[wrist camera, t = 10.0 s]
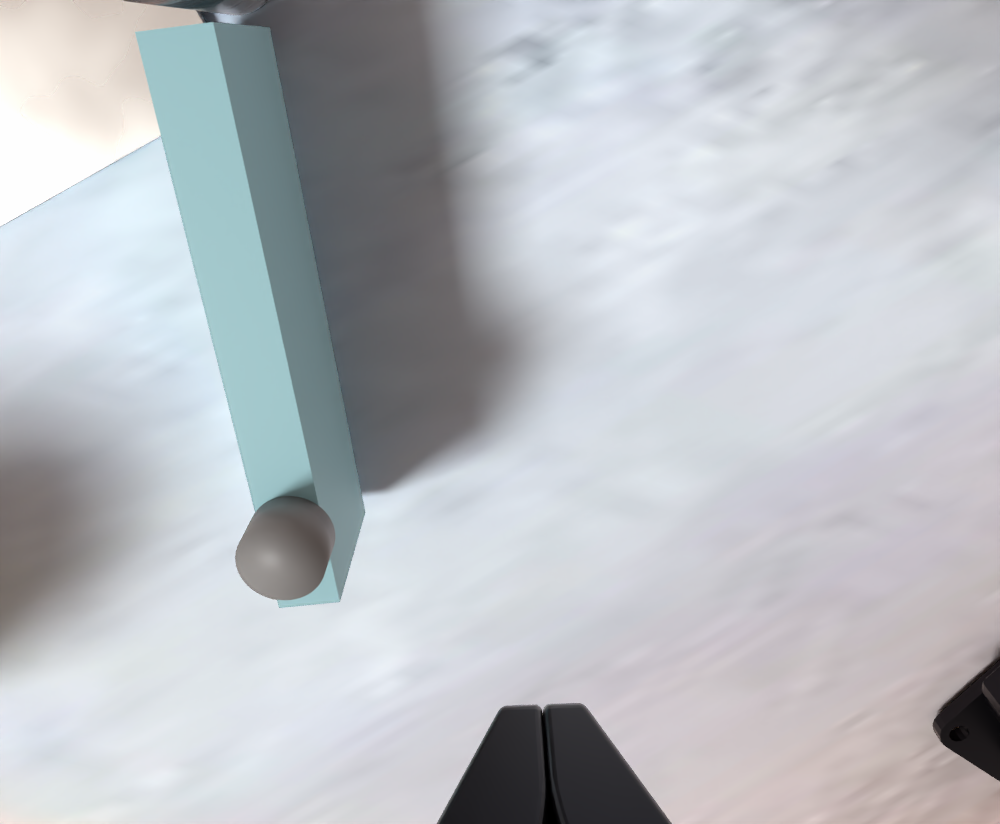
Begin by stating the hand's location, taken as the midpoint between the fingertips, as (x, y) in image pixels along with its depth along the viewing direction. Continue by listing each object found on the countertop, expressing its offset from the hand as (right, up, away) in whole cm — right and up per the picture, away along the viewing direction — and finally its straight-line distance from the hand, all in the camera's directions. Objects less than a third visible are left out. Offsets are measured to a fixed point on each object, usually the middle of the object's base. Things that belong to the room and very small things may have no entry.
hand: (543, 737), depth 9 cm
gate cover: (-5, +6, +10) cm, 12 cm away
